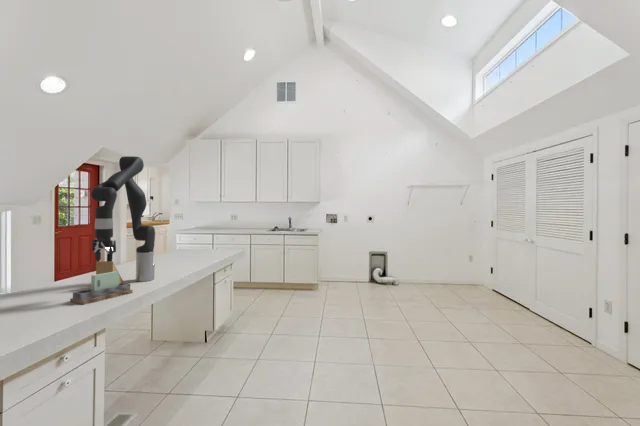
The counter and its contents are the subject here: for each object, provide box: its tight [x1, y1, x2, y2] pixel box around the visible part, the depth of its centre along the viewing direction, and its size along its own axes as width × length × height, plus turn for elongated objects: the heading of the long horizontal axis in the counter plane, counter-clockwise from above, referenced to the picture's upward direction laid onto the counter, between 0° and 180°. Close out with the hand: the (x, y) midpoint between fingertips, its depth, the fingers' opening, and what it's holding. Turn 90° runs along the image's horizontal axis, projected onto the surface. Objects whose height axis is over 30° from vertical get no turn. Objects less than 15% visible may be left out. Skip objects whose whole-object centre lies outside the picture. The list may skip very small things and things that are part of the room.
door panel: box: [90, 270, 120, 292], centre depth 164 cm, size 12×3×10 cm, turn 157°
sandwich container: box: [95, 260, 125, 283], centre depth 188 cm, size 9×15×15 cm, turn 9°
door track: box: [69, 282, 133, 305], centre depth 163 cm, size 24×10×4 cm, turn 157°
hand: (103, 260), depth 163 cm, fingers open, 8 cm apart
